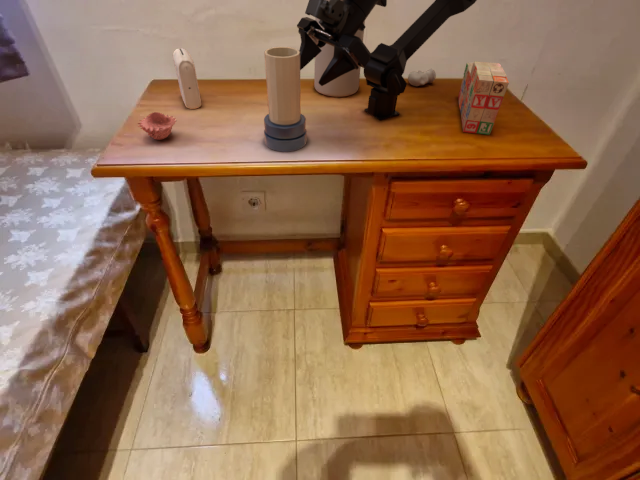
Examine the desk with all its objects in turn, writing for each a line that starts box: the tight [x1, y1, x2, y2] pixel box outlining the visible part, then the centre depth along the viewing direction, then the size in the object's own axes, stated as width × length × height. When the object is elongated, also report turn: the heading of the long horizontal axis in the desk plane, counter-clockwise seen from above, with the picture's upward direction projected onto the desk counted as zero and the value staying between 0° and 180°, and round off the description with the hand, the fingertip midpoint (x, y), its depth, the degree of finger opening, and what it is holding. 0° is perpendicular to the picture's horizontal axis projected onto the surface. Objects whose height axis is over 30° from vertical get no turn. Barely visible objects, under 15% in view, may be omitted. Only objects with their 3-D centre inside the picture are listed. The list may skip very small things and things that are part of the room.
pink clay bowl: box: [137, 111, 177, 141], centre depth 81 cm, size 8×8×6 cm
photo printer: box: [172, 47, 202, 110], centre depth 93 cm, size 10×4×12 cm, turn 23°
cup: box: [263, 46, 302, 125], centre depth 75 cm, size 7×7×13 cm
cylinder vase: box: [313, 0, 366, 98], centre depth 98 cm, size 12×12×25 cm
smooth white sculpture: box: [407, 68, 437, 87], centre depth 109 cm, size 4×8×5 cm
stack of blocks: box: [457, 61, 510, 136], centre depth 92 cm, size 21×6×12 cm, turn 168°
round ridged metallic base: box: [263, 113, 308, 153], centre depth 81 cm, size 9×9×5 cm
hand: (307, 77), depth 77 cm, fingers open, 9 cm apart
